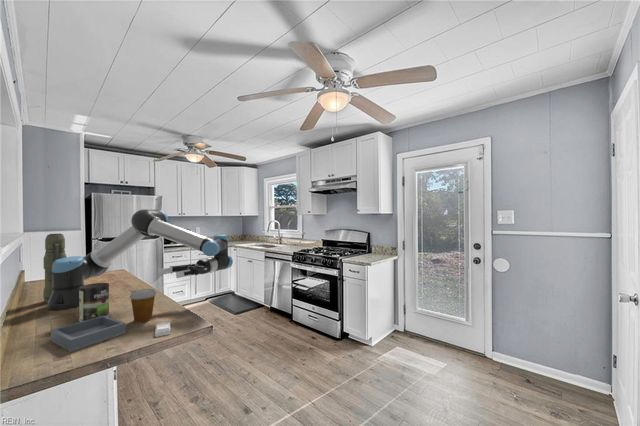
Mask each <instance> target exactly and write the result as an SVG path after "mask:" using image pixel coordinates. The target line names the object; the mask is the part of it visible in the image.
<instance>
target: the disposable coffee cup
mask: <svg viewBox="0 0 640 426" xmlns="http://www.w3.org/2000/svg"><path fill="white" fill-rule="evenodd" d="M156 294H157V292H156V291H155V289H154V288H143V289H137V290H134V291H132V292H131V293H130V295H129V298H130V300H131V306H132V312H133V313H132V315H133V321H134V322H135V323H144V322H148V321H150V320H152V318H153V311H154V306H155V304H154V303H155V297H156Z"/></svg>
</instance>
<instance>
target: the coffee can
mask: <svg viewBox="0 0 640 426" xmlns="http://www.w3.org/2000/svg"><path fill="white" fill-rule="evenodd" d="M78 307H79V310H78V311H79V312H78V313H79V314H78V317H79V319H78V321H79V322H82V321H86V320H89V319H93V318H97V317H100V316H107V317H109V316H110V310H109V309H110V283H108V282H96V283H90V284H84V286H81V287H79V306H78Z"/></svg>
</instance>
